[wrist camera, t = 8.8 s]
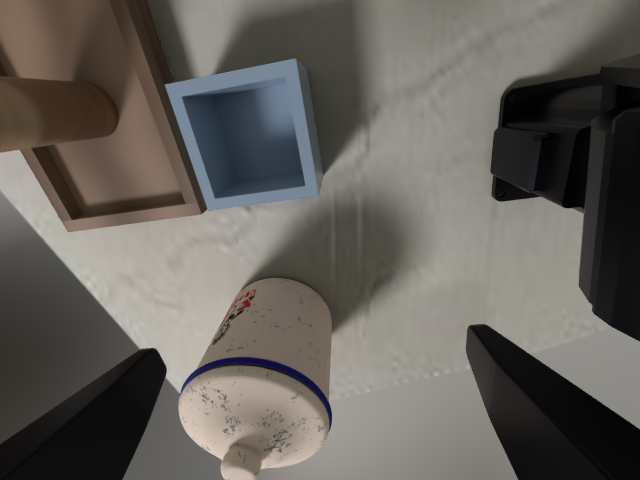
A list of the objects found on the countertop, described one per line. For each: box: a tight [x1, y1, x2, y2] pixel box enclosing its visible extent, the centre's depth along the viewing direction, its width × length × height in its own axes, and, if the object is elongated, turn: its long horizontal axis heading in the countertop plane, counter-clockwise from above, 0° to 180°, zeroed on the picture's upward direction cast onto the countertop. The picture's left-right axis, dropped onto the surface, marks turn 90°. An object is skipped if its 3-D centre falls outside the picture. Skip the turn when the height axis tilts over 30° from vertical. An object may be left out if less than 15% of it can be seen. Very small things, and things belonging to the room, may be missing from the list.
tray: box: [0, 0, 207, 232], centre depth 17 cm, size 10×14×2 cm
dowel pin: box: [0, 76, 118, 152], centre depth 13 cm, size 3×3×10 cm
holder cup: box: [165, 58, 324, 211], centre depth 16 cm, size 6×6×4 cm
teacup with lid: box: [179, 278, 332, 480], centre depth 20 cm, size 12×9×12 cm
